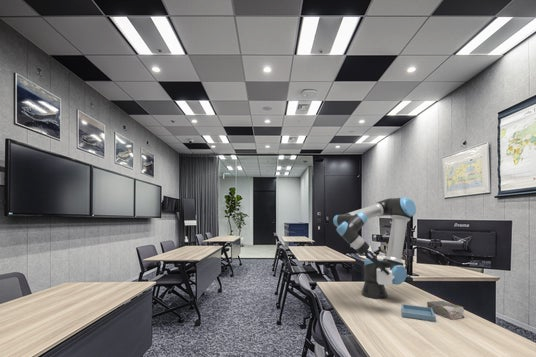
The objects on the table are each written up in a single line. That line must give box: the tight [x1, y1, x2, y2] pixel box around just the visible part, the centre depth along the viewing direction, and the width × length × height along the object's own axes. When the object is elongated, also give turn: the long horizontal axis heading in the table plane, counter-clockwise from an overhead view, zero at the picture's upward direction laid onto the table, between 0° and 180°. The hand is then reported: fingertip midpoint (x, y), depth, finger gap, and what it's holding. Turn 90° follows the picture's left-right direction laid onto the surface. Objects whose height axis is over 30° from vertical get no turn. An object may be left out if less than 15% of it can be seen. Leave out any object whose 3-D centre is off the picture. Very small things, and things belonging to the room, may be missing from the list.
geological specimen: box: [426, 300, 465, 321], centre depth 151 cm, size 11×6×15 cm
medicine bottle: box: [377, 260, 394, 286], centre depth 156 cm, size 7×7×12 cm
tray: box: [400, 303, 437, 323], centre depth 149 cm, size 15×15×2 cm
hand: (391, 277), depth 155 cm, fingers closed on medicine bottle, 7 cm apart
